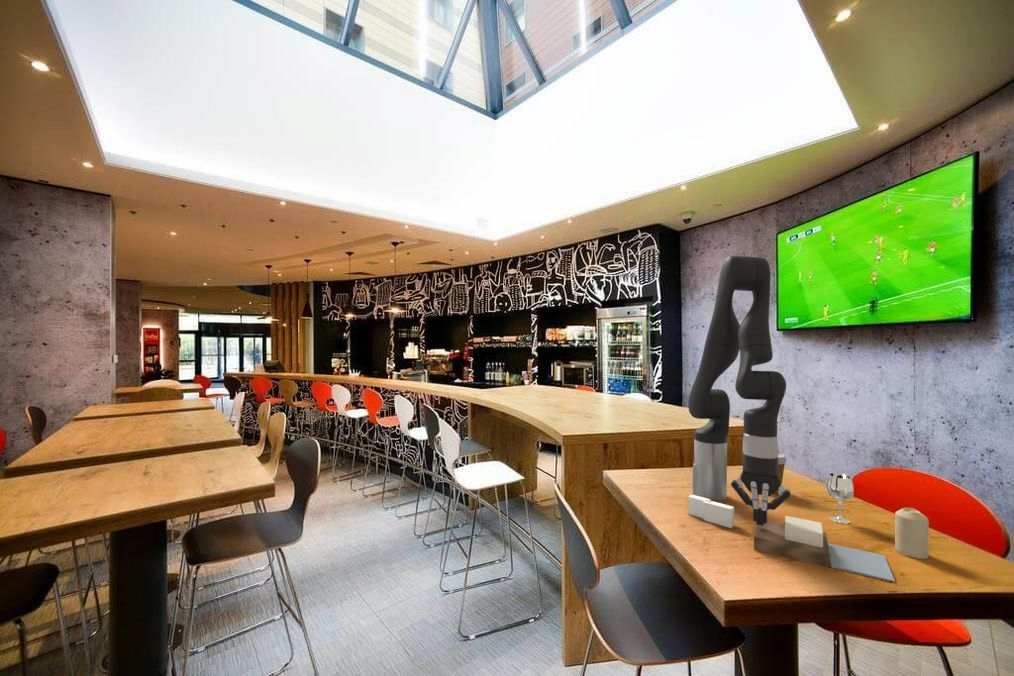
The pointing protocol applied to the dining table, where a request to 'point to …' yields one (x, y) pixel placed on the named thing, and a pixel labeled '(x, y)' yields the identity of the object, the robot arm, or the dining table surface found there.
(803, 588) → the dining table surface
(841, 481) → the wineglass
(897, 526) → the candle
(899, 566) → the dining table surface
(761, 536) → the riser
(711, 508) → the napkin holder
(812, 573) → the dining table surface
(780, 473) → the disposable coffee cup
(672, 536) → the dining table surface
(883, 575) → the mat
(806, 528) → the white block
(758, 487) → the robot arm
